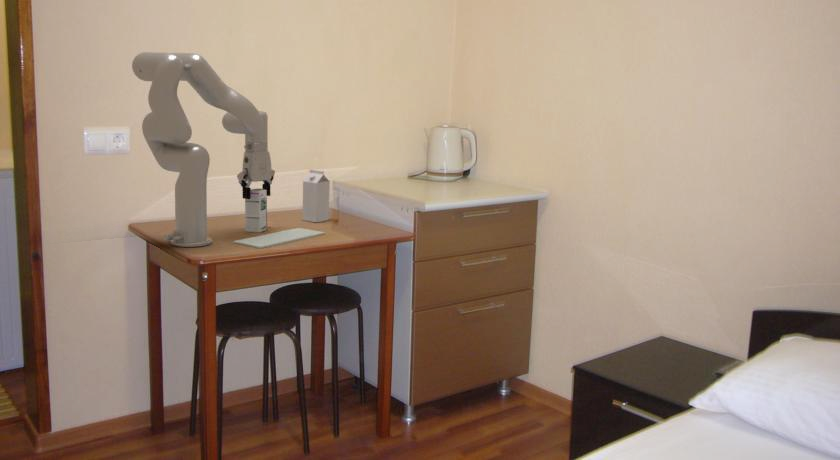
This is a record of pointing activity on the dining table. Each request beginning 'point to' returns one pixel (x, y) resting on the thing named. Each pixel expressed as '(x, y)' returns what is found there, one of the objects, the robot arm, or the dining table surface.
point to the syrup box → (256, 211)
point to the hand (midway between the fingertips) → (256, 197)
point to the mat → (278, 238)
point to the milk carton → (316, 197)
